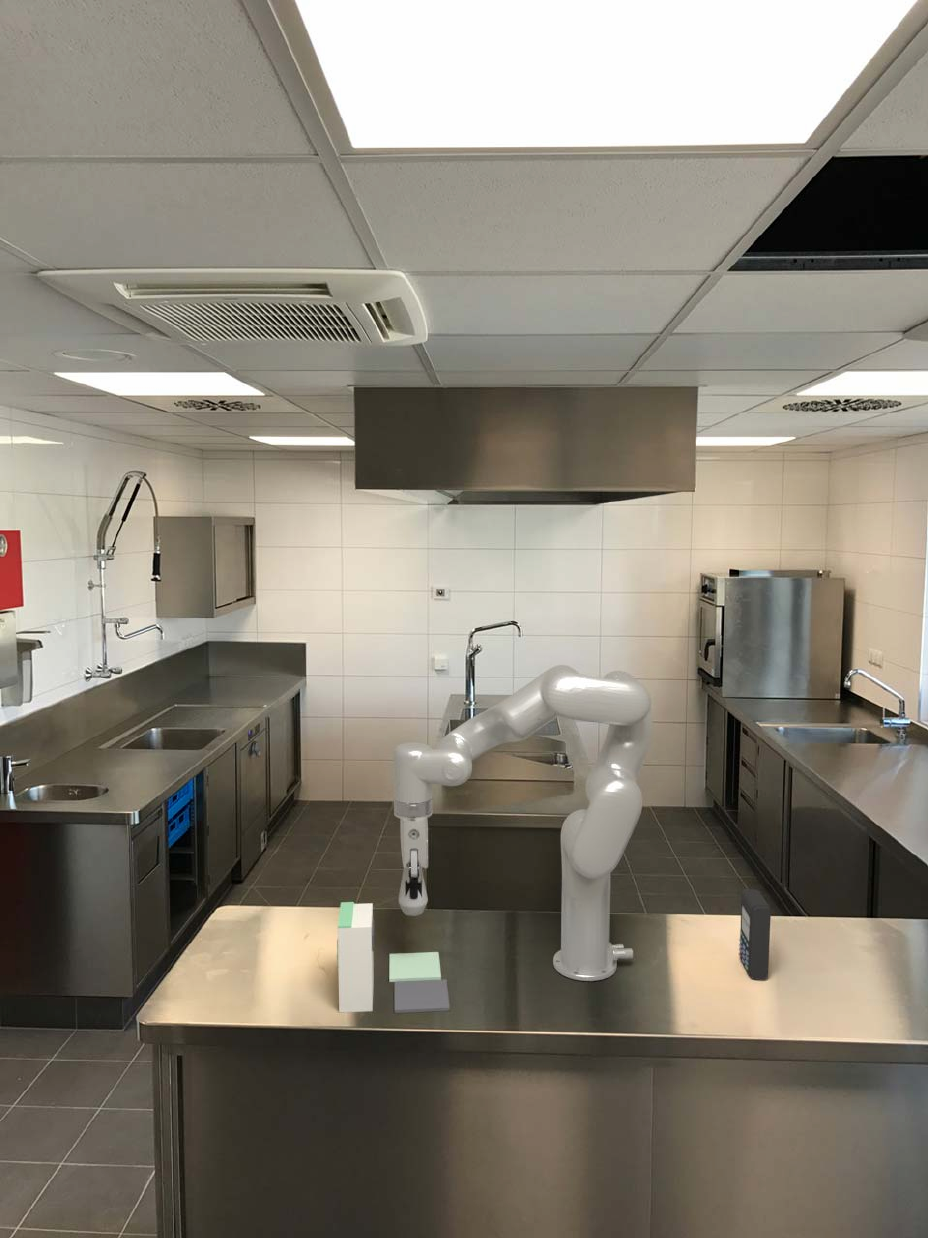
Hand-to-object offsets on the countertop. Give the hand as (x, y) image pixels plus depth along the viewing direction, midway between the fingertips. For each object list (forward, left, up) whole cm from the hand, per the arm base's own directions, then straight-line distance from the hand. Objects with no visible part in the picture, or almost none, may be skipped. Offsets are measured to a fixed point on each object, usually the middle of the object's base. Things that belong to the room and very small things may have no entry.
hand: (413, 896), depth 174 cm
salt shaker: (0, 0, -3) cm, 3 cm away
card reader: (-67, +6, -15) cm, 69 cm away
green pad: (0, 0, -15) cm, 15 cm away
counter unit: (+11, +10, -15) cm, 21 cm away
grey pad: (-1, +11, -15) cm, 19 cm away
